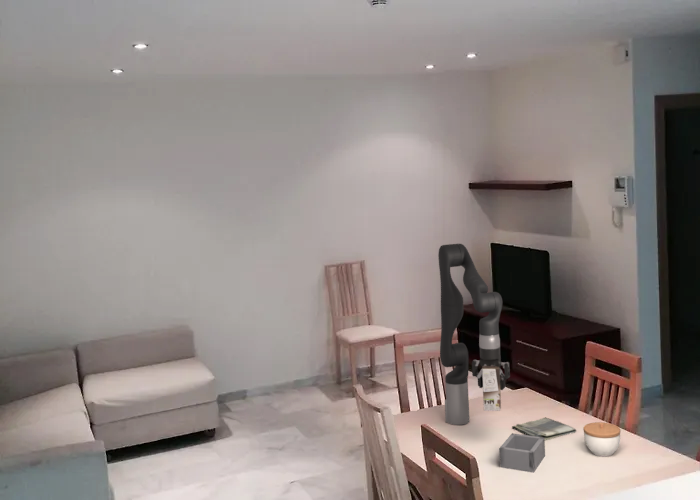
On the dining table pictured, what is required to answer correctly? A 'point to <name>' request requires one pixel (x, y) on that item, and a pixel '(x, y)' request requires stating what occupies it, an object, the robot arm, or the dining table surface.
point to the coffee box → (491, 388)
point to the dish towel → (544, 428)
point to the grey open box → (522, 452)
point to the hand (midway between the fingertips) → (491, 388)
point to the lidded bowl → (602, 438)
